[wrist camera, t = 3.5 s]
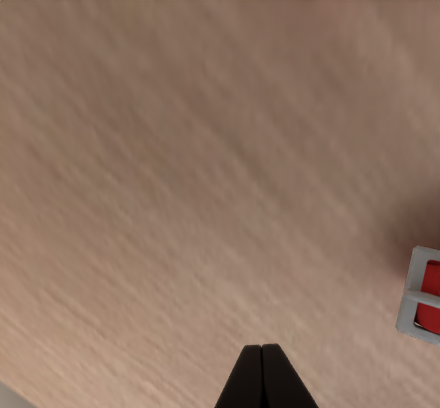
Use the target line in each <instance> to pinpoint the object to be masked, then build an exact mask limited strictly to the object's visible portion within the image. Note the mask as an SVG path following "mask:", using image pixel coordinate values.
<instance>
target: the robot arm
mask: <svg viewBox="0 0 440 408" xmlns="http://www.w3.org/2000/svg"><path fill="white" fill-rule="evenodd" d="M214 408H319V407H318V406H317V404H316V402H315V401H314V399H313V398H312V396H311V395H310V393H309V391H308V390H307V388H306V387H305V385H304V383H303V382H302V380H301V379H300V377H299V376H298V374H297V372H296V371H295V369H294V368H293V366H292V364H291V363H290V361H289V360H288V358H287V357H286V355H285V353H284V352H283V350H282V349H281V347H280V346H279V345H278V344H263V345H262V348H261V346H260V345H246V346H244V348H243V349H242V351H241V353H240V356H239V358H238V360H237V362H236V364H235V366H234V368H233V370H232V372H231V374H230V376H229V378H228V380H227V383H226V385H225V387H224V389H223V391H222V393H221V395H220V397H219V399H218V401H217V403H216V405H215V407H214Z"/></svg>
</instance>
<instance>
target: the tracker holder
mask: <svg viewBox="0 0 440 408" xmlns="http://www.w3.org/2000/svg"><path fill="white" fill-rule="evenodd" d="M414 322H416V323H418V324H419V325H421V326H423V327H421V326H418V325H416V324H415V323H414ZM396 328H397V330H398V332H401V333H403V334H406V335H409V336H412V337H415V338H418V339H421V340H424V341H427V342H429V343H432V344H435V345H438V346H440V250H437V249H433V248H428V247H424V246H419V245H418V246H416V247H415V248H413V251H412V256H411V260H410V265H409V269H408V273H407V278H406V282H405V287H404V291H403V296H402V300H401V304H400V309H399V313H398V318H397V322H396Z"/></svg>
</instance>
